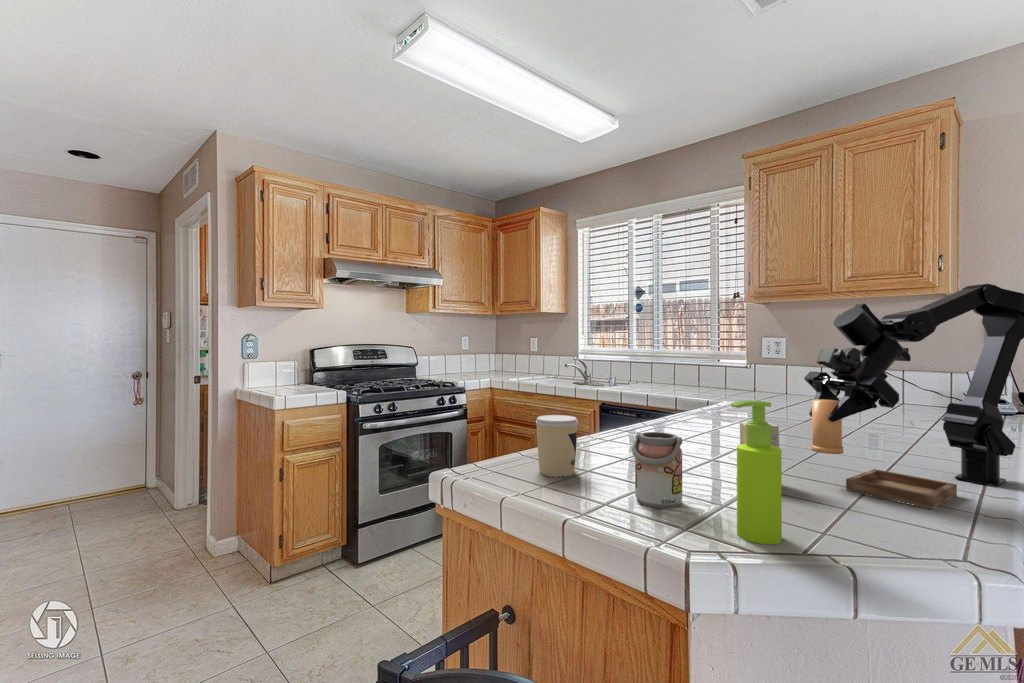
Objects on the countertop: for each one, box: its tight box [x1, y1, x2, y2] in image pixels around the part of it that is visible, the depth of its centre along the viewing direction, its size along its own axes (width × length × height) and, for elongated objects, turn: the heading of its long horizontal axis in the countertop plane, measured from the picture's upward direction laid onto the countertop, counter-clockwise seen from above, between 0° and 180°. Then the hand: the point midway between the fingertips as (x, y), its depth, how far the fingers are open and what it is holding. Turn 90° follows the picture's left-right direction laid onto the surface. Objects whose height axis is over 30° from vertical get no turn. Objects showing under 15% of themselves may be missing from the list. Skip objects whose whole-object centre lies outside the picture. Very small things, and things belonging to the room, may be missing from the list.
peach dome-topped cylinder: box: [810, 398, 844, 455], centre depth 97 cm, size 5×5×10 cm
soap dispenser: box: [729, 399, 783, 545], centre depth 71 cm, size 6×7×20 cm
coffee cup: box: [535, 414, 579, 478], centre depth 107 cm, size 9×9×12 cm
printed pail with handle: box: [631, 431, 683, 509], centre depth 86 cm, size 9×8×12 cm
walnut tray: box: [845, 468, 958, 510], centre depth 92 cm, size 13×13×2 cm
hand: (820, 418), depth 97 cm, fingers closed on peach dome-topped cylinder, 5 cm apart
